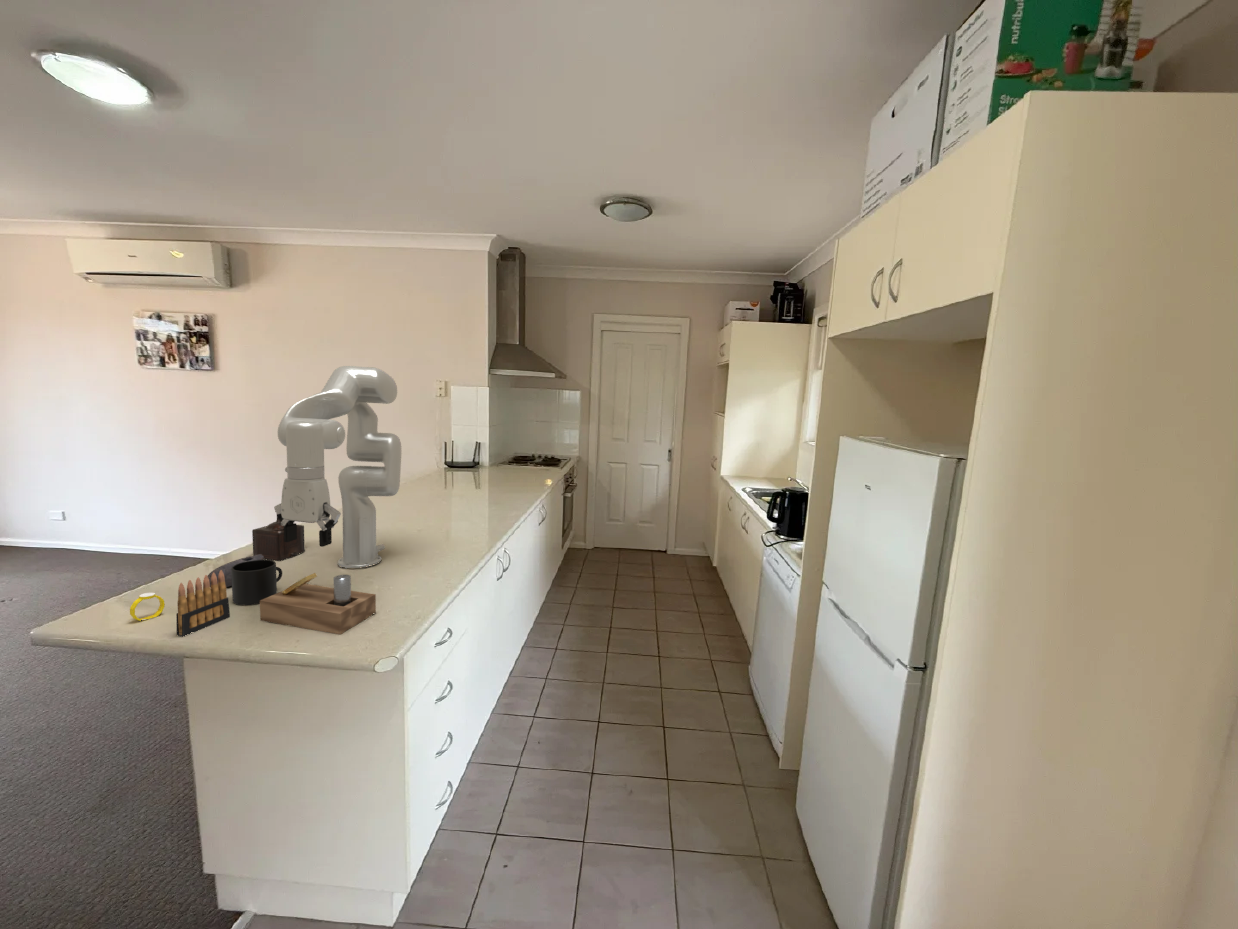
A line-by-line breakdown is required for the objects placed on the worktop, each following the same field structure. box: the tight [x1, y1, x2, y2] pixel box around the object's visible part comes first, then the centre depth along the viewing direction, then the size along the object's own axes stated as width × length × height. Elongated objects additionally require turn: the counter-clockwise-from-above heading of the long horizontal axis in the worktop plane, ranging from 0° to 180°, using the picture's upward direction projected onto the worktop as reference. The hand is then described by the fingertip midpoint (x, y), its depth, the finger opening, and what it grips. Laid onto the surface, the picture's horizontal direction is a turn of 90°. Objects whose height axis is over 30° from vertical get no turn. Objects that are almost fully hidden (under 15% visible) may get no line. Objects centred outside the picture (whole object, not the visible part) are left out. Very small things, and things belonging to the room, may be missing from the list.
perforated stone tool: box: [207, 554, 265, 589], centre depth 139 cm, size 15×5×7 cm, turn 153°
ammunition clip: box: [176, 570, 231, 638], centre depth 114 cm, size 11×2×12 cm, turn 167°
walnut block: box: [259, 583, 377, 635], centre depth 122 cm, size 12×22×5 cm, turn 78°
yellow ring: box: [129, 592, 166, 622], centre depth 117 cm, size 6×3×6 cm, turn 158°
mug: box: [231, 559, 283, 606], centre depth 132 cm, size 9×12×9 cm
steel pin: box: [333, 574, 352, 606], centre depth 121 cm, size 4×4×11 cm
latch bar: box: [282, 572, 318, 595], centre depth 123 cm, size 3×8×1 cm
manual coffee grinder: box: [251, 510, 306, 562], centre depth 166 cm, size 16×11×18 cm
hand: (308, 543), depth 121 cm, fingers open, 9 cm apart
